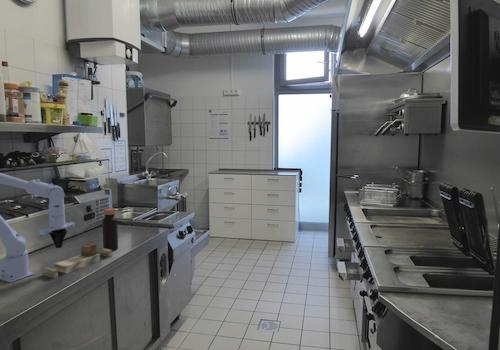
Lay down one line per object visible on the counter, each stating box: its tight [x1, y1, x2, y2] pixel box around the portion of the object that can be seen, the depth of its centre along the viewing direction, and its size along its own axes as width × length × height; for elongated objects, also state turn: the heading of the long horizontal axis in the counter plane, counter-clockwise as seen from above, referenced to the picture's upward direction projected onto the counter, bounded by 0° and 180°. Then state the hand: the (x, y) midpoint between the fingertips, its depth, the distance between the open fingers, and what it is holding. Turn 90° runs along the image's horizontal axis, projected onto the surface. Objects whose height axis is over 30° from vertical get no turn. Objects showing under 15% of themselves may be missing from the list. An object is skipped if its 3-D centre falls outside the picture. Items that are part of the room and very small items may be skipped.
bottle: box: [101, 208, 119, 252], centre depth 173 cm, size 7×7×20 cm
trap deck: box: [42, 247, 113, 279], centre depth 153 cm, size 29×7×3 cm, turn 154°
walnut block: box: [80, 242, 98, 257], centre depth 157 cm, size 4×4×4 cm
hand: (58, 247), depth 146 cm, fingers closed
